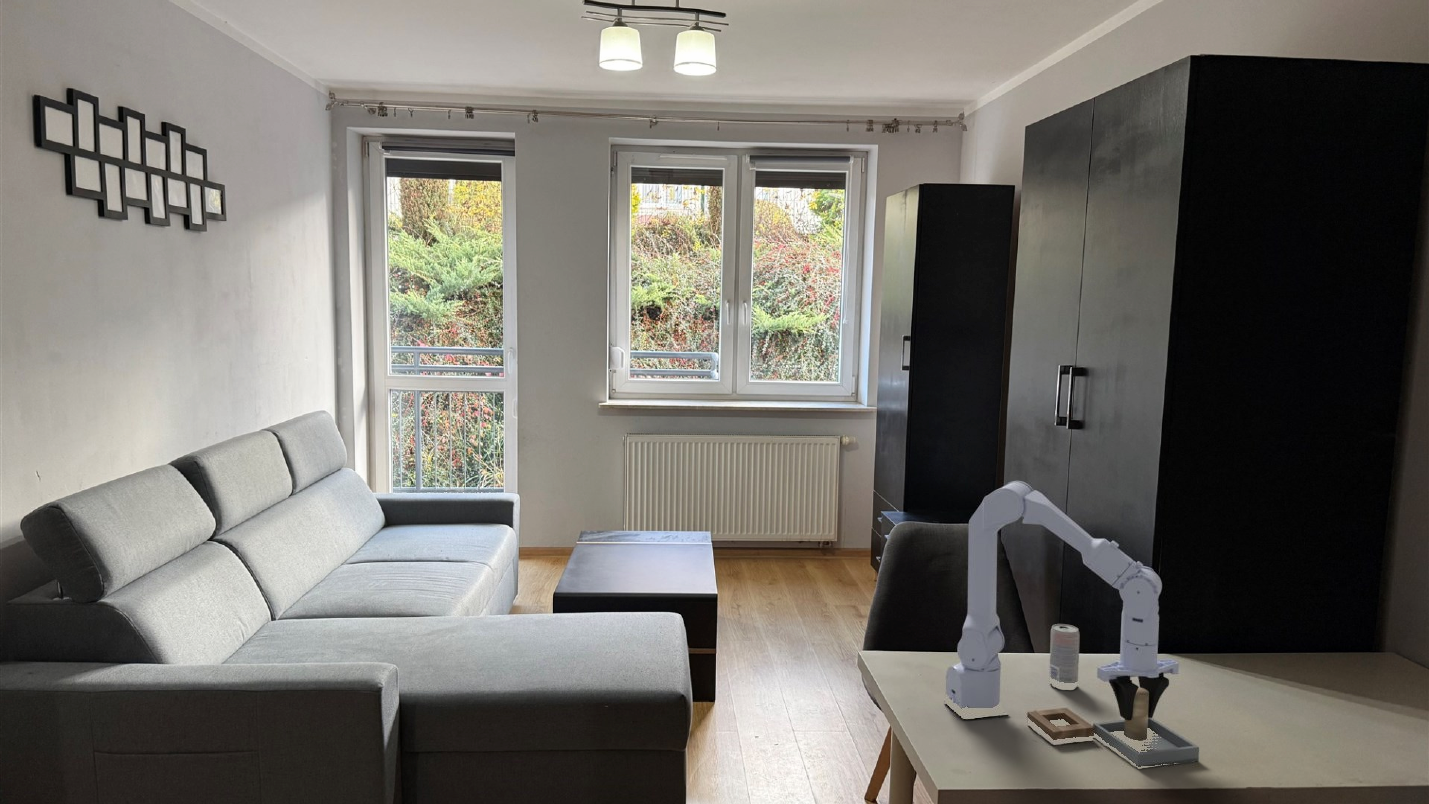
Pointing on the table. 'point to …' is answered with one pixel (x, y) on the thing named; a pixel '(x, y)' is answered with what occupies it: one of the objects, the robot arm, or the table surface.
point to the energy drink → (1064, 653)
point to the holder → (1075, 728)
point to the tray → (1167, 747)
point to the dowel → (1138, 717)
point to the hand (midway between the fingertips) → (1136, 716)
